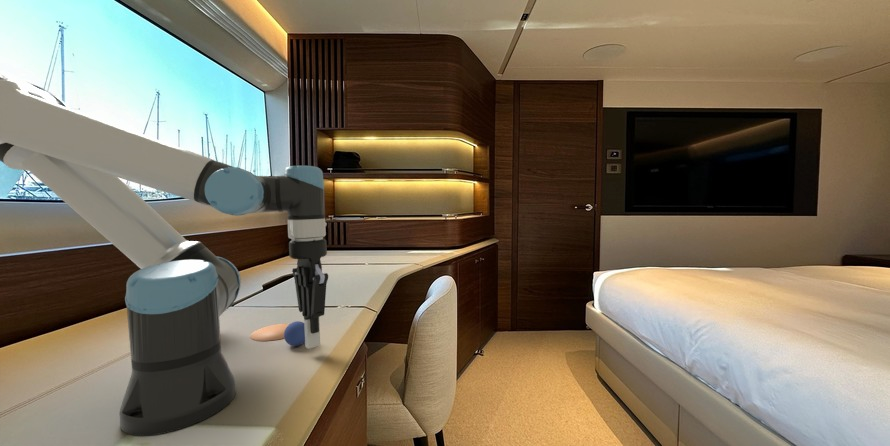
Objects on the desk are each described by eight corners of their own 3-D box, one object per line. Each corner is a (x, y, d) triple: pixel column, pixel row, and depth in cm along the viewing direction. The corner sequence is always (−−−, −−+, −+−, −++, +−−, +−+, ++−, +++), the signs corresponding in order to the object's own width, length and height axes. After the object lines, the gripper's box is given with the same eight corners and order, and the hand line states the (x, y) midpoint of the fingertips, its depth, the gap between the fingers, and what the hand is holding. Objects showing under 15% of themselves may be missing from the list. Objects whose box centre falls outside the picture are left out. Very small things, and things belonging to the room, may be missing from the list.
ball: (311, 346, 82) (310, 323, 81) (285, 351, 79) (283, 327, 79) (308, 338, 86) (307, 316, 86) (283, 343, 84) (282, 320, 84)
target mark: (303, 335, 89) (303, 334, 89) (249, 344, 84) (249, 343, 84) (299, 321, 100) (299, 320, 100) (251, 329, 94) (251, 328, 94)
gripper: (338, 239, 74) (343, 349, 75) (311, 235, 83) (316, 333, 84) (302, 242, 68) (308, 360, 70) (278, 238, 78) (284, 343, 79)
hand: (312, 345), depth 77 cm, fingers closed
